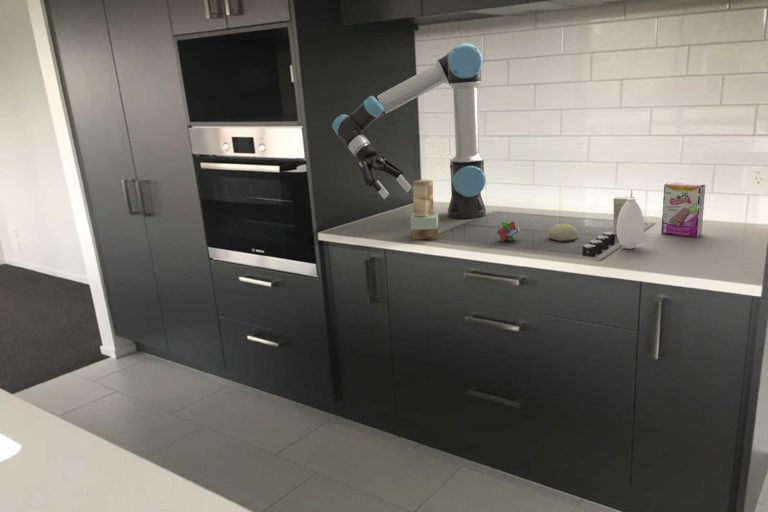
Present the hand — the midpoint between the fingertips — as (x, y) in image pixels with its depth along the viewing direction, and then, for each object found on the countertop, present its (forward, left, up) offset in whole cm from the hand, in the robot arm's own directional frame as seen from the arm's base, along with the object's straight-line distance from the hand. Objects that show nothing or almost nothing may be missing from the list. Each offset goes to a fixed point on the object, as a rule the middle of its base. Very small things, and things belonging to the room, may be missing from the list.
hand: (398, 193), depth 224 cm
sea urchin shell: (-55, +17, -15) cm, 59 cm away
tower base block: (-9, +6, -15) cm, 19 cm away
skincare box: (-75, +14, -15) cm, 78 cm away
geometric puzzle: (-37, +17, -15) cm, 43 cm away
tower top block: (-9, +6, -11) cm, 16 cm away
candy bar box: (-92, +18, -15) cm, 95 cm away
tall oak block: (-9, +6, -7) cm, 13 cm away
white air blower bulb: (-72, +32, -15) cm, 80 cm away
